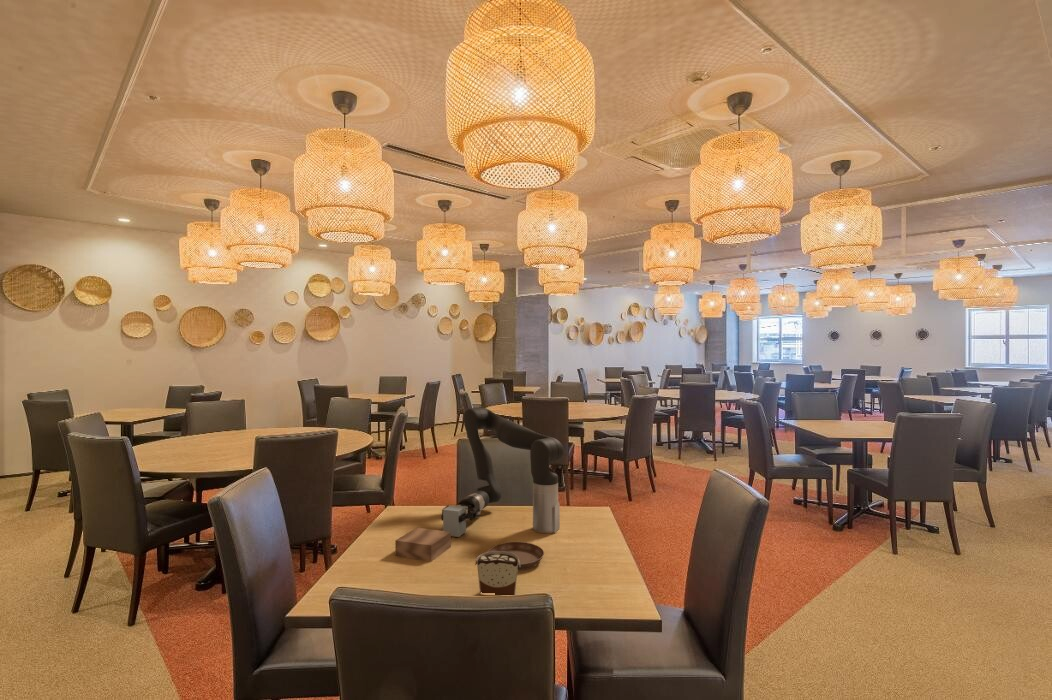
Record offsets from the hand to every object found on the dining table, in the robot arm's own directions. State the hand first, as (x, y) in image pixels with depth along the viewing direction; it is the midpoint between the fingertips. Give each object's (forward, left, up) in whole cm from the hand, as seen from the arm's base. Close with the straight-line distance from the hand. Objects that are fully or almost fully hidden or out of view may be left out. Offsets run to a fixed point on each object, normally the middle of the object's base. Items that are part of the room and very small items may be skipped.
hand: (450, 518), depth 189 cm
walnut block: (+2, +15, -6) cm, 17 cm away
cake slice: (-32, +33, -7) cm, 46 cm away
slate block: (0, -3, -6) cm, 7 cm away
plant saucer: (-29, +12, -7) cm, 32 cm away
